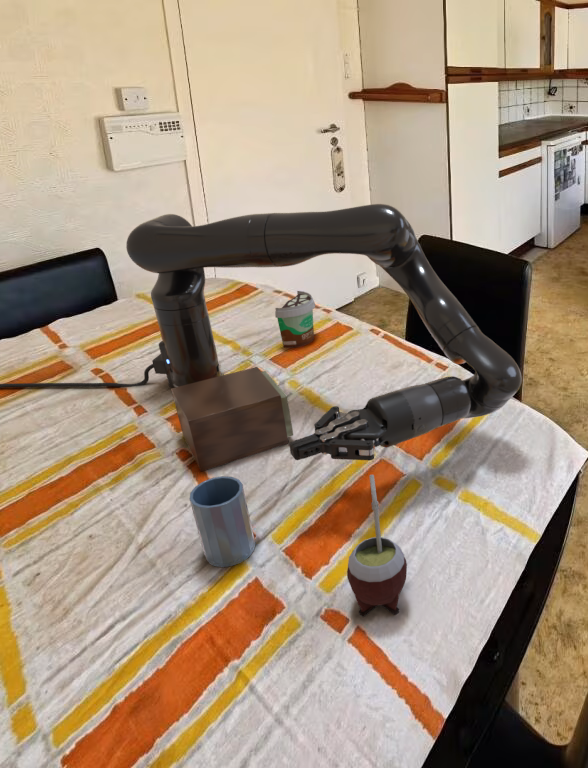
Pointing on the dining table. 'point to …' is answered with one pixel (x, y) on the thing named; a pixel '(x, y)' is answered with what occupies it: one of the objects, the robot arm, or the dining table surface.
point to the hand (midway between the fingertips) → (292, 452)
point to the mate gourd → (377, 569)
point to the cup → (223, 521)
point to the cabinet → (230, 417)
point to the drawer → (284, 405)
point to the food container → (296, 320)
